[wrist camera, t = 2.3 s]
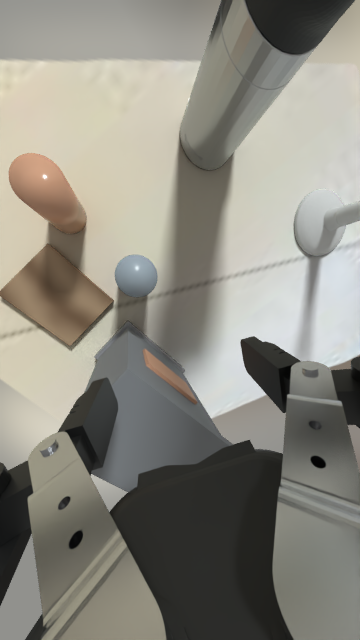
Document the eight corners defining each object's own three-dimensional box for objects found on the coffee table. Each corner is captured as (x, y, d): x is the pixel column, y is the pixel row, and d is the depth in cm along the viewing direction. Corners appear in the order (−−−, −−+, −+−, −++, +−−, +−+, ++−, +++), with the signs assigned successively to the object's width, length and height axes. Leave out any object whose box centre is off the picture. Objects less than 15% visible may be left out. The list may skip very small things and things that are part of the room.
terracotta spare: (65, 189, 28) (33, 141, 19) (93, 217, 30) (77, 186, 20) (41, 214, 28) (-4, 177, 18) (70, 241, 29) (43, 219, 20)
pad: (50, 245, 29) (47, 243, 28) (113, 300, 32) (113, 300, 32) (1, 293, 28) (-3, 293, 27) (71, 344, 32) (70, 346, 31)
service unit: (127, 320, 34) (127, 368, 14) (182, 367, 38) (240, 454, 18) (95, 354, 33) (49, 452, 14) (154, 398, 37) (183, 520, 18)
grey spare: (133, 257, 32) (135, 245, 23) (155, 279, 34) (165, 276, 24) (112, 279, 32) (105, 276, 22) (135, 299, 33) (138, 305, 24)
